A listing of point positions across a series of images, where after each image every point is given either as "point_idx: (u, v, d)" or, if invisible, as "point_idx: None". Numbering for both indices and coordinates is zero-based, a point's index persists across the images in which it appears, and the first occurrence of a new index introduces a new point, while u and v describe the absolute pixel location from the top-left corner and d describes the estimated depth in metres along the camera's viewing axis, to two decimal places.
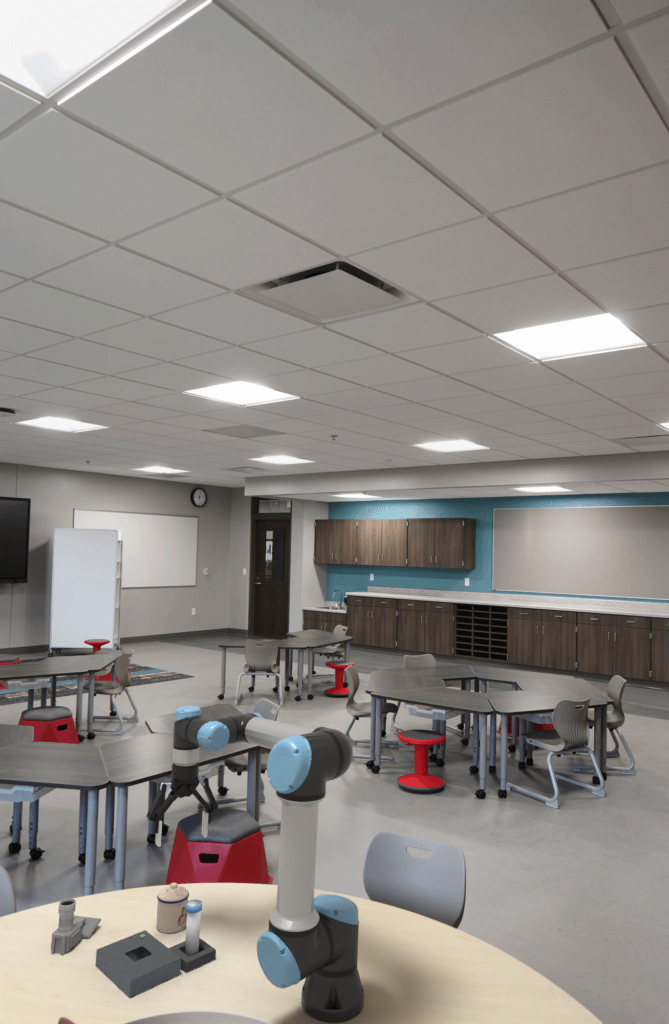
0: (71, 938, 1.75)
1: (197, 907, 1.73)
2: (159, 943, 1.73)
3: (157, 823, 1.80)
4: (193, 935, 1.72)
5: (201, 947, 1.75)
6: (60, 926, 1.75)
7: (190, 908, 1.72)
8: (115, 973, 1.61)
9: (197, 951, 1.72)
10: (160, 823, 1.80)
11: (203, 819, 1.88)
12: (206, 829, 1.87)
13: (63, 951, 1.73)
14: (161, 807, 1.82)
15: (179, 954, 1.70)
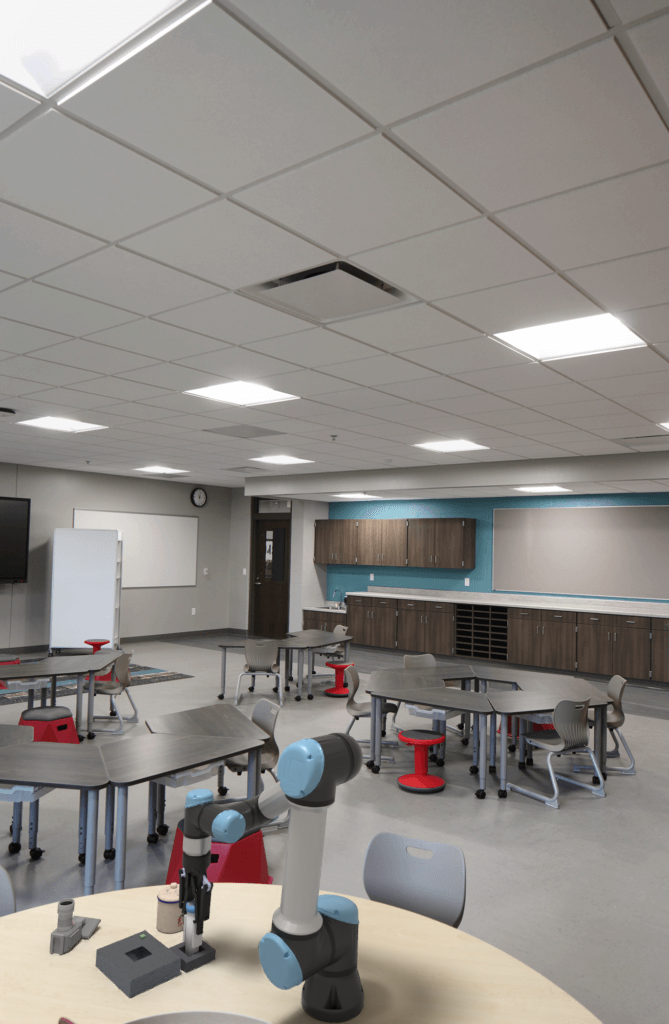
0: (69, 939, 1.74)
1: None
2: (159, 943, 1.73)
3: None
4: None
5: (201, 947, 1.75)
6: (59, 926, 1.75)
7: (190, 908, 1.72)
8: (115, 973, 1.61)
9: (197, 951, 1.73)
10: (184, 917, 1.75)
11: None
12: (192, 939, 1.71)
13: (61, 951, 1.73)
14: None
15: (179, 954, 1.70)
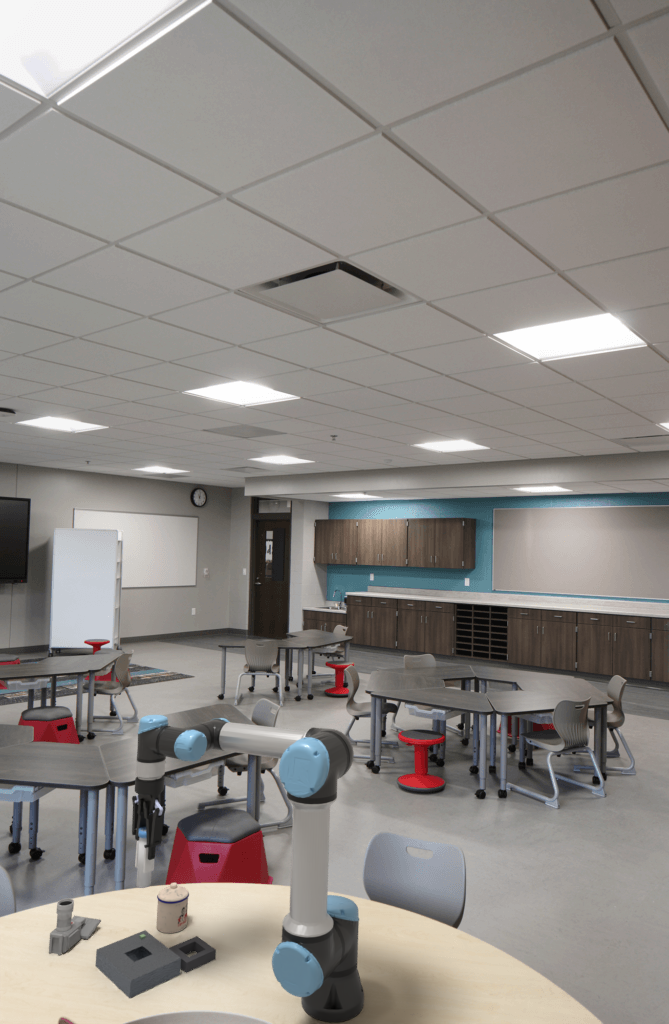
0: (68, 939, 1.74)
1: None
2: (159, 943, 1.73)
3: None
4: None
5: (201, 947, 1.75)
6: (58, 926, 1.75)
7: (142, 833, 1.69)
8: (115, 973, 1.61)
9: (149, 877, 1.69)
10: (137, 843, 1.71)
11: None
12: (144, 864, 1.68)
13: (60, 951, 1.73)
14: None
15: (179, 954, 1.70)
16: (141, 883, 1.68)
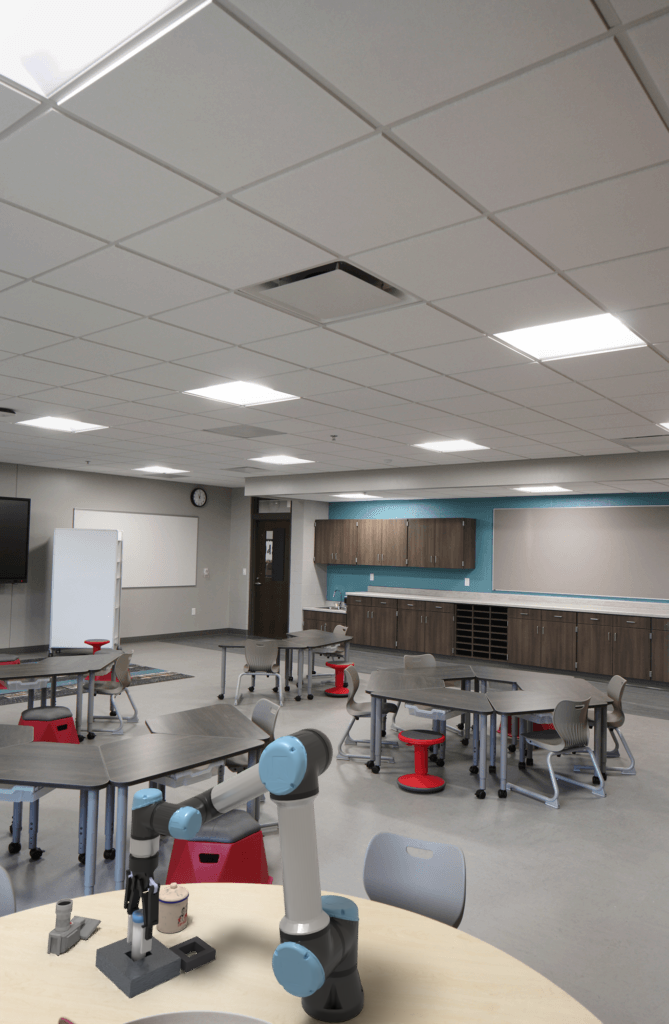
0: (67, 939, 1.74)
1: None
2: (159, 943, 1.73)
3: None
4: (139, 946, 1.66)
5: (201, 947, 1.75)
6: (56, 926, 1.75)
7: (136, 918, 1.67)
8: (115, 973, 1.61)
9: None
10: (128, 917, 1.70)
11: None
12: (141, 944, 1.65)
13: (58, 951, 1.73)
14: None
15: (179, 954, 1.70)
16: None
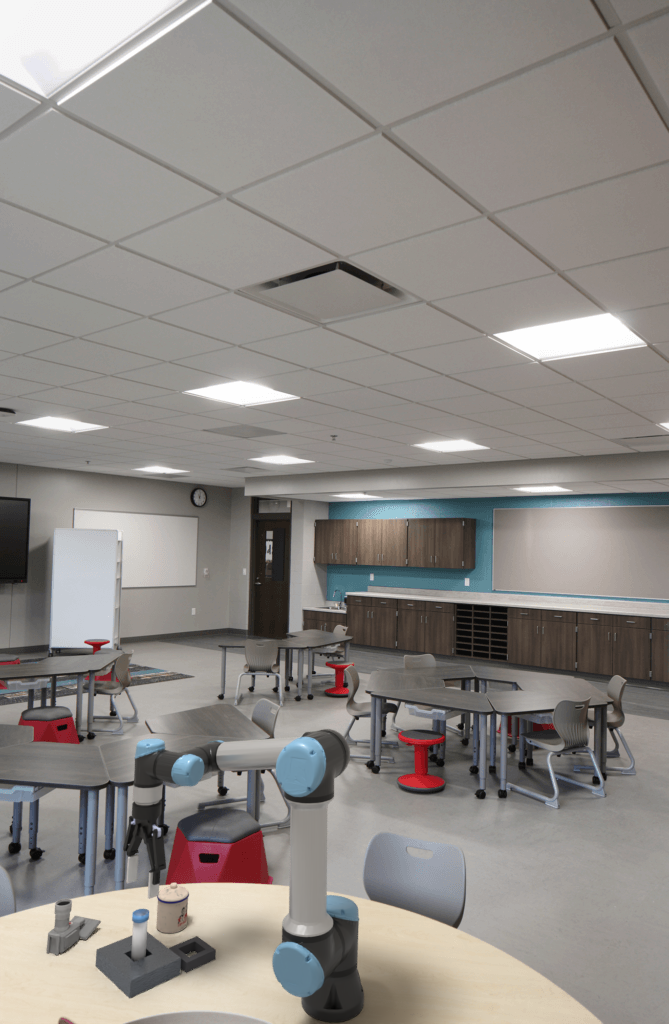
0: (66, 939, 1.74)
1: (143, 917, 1.67)
2: (159, 943, 1.73)
3: None
4: (139, 946, 1.66)
5: (201, 947, 1.75)
6: (56, 926, 1.75)
7: (136, 918, 1.67)
8: (115, 973, 1.61)
9: None
10: (128, 859, 1.73)
11: None
12: (148, 889, 1.65)
13: (57, 951, 1.73)
14: None
15: (179, 954, 1.70)
16: None
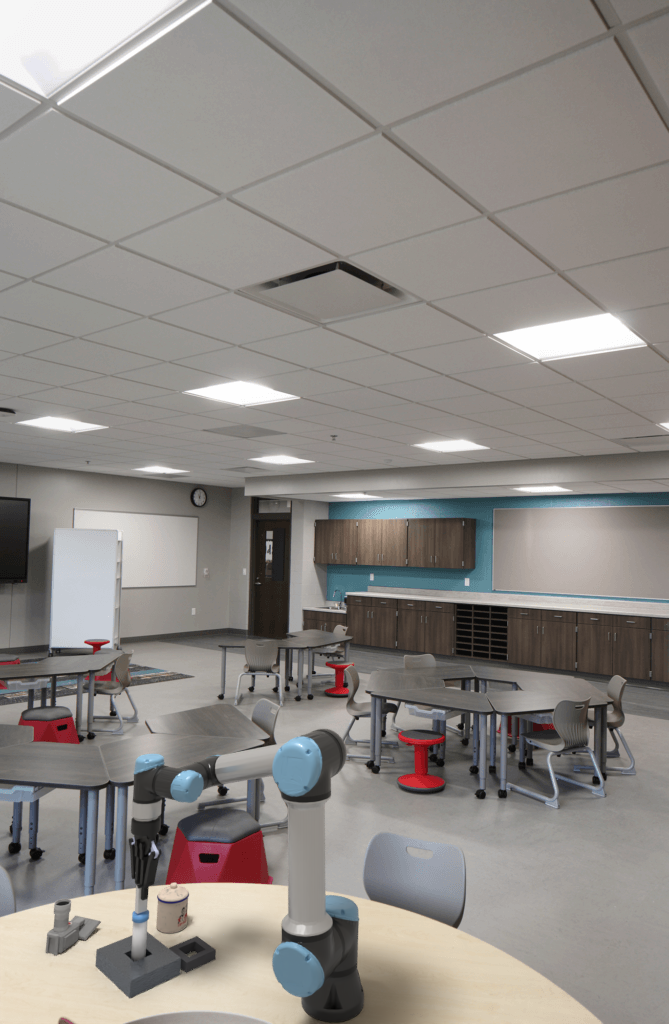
0: (64, 939, 1.74)
1: (143, 917, 1.67)
2: (159, 943, 1.73)
3: None
4: (139, 946, 1.66)
5: (201, 947, 1.75)
6: (55, 926, 1.75)
7: (136, 918, 1.67)
8: (115, 973, 1.61)
9: None
10: (136, 887, 1.69)
11: None
12: (137, 904, 1.68)
13: (56, 952, 1.73)
14: None
15: (179, 954, 1.70)
16: None
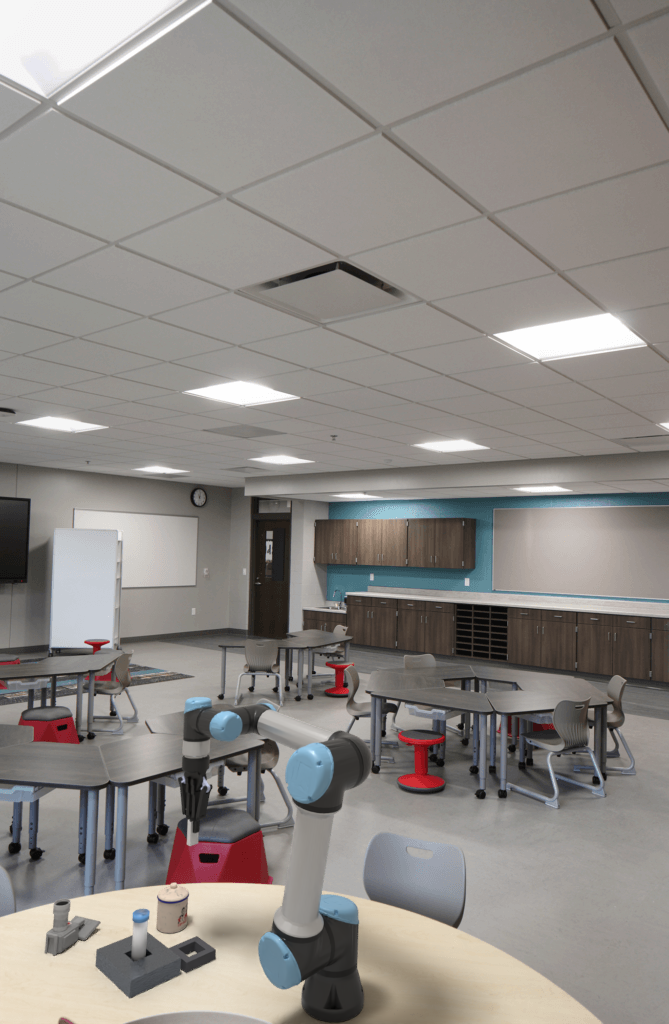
0: (63, 939, 1.74)
1: (143, 917, 1.67)
2: (159, 943, 1.73)
3: None
4: (139, 946, 1.66)
5: (201, 947, 1.75)
6: (54, 926, 1.75)
7: (137, 918, 1.67)
8: (115, 973, 1.61)
9: None
10: (188, 821, 1.78)
11: None
12: (189, 837, 1.77)
13: (55, 952, 1.73)
14: None
15: (179, 954, 1.70)
16: None
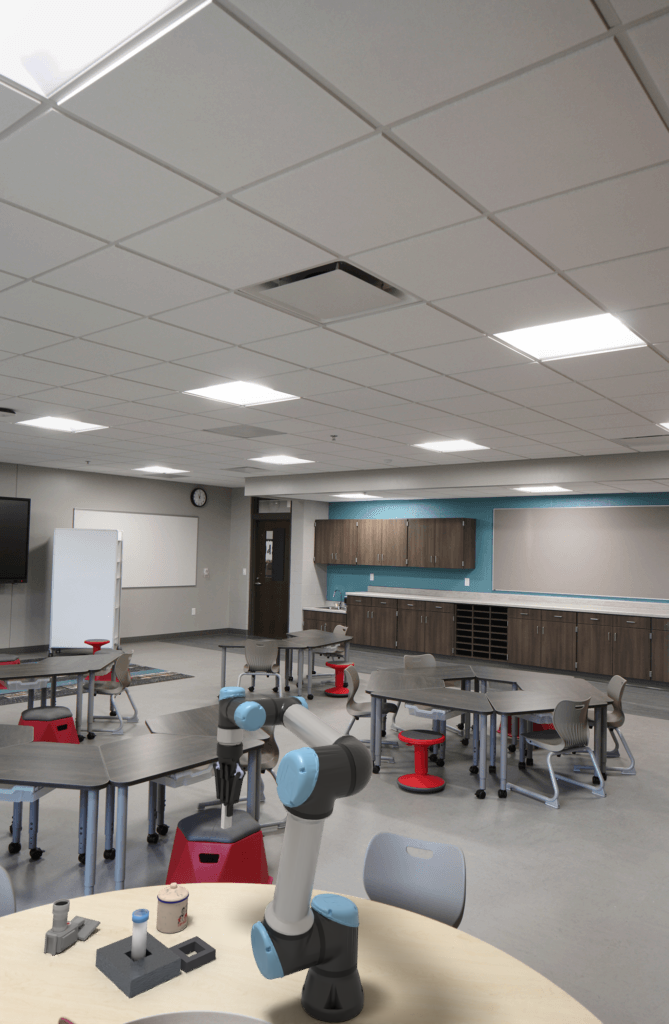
0: (62, 940, 1.74)
1: (143, 917, 1.67)
2: (159, 943, 1.73)
3: None
4: (139, 946, 1.66)
5: (201, 947, 1.75)
6: (53, 926, 1.75)
7: (136, 918, 1.67)
8: (115, 973, 1.61)
9: None
10: (222, 805, 1.85)
11: None
12: (223, 820, 1.84)
13: (54, 952, 1.73)
14: None
15: (179, 954, 1.70)
16: None
